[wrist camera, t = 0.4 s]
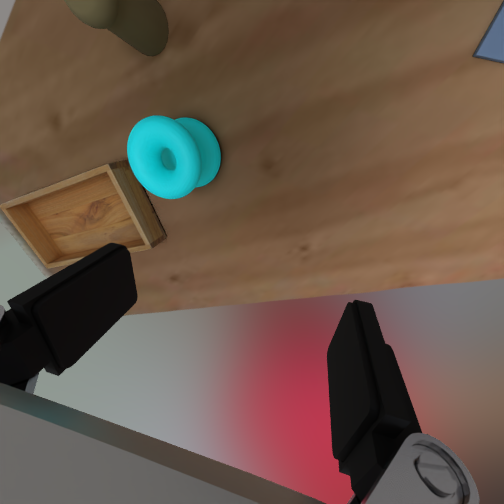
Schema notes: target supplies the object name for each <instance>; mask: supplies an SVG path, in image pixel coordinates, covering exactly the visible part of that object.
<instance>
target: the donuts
mask: <svg viewBox="0 0 504 504" xmlns="http://www.w3.org/2000/svg"><path fill="white" fill-rule="evenodd" d="M127 154H128V160H129V163H130V166H131V169H132V171H133V173H134V175H135V176H136V178H137V179H138V181H139V182H140V183H141V184H142V185H143V186H144V187H145V188H146V189H147V190H148V191H150V192H151V193H153V194H155V195H157V196H159V197H162V198H166V199H177V198H181V197H184V196H186V195H188V194H189V193H190V192H191V191H192V190H193V189H194V188H195V187H201V186H204V185H206V184H208V183H209V182H211V181H212V180H213V179H214V177H215V176H216V174H217V172H218V170H219V167H220V162H221V152H220V147H219V144H218V141H217V139H216V137H215V135H214V134H213V132H212V131H211V130H210V129H209V128H208V127H207V126H206V125H205V124H203V123H202V122H200V121H198V120H196V119H193V118H186V117H185V118H178V119H175V120H174V119H171V118H169V117H165V116H149V117H146V118H144V119H142V120H141V121H139V122H138V123H137V124H136V125H135V126H134V128H133V129H132V131H131V133H130V135H129V139H128V144H127Z"/></svg>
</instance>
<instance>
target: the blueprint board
mask: <svg viewBox="0 0 504 504" xmlns="http://www.w3.org/2000/svg"><path fill="white" fill-rule="evenodd" d="M473 57H478V58H482V59H487V60H491V61H496V62H500V63H504V1H503V3H502V5H501V6H500V8H499V10H498V12H497V14H496V15H495V17H494V19H493V21H492V23H491V24H490V26H489V28H488V30H487V31H486V33H485V35H484V37H483V39H482V40H481V42H480V44H479V46H478V47H477V49H476V51H475V53H474V55H473Z"/></svg>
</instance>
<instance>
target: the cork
mask: <svg viewBox="0 0 504 504" xmlns="http://www.w3.org/2000/svg"><path fill="white" fill-rule="evenodd" d="M64 1H65V2H66V4H67V5H68V7H69V8H70V10H71V11H72V13H73V14H74V15H75V16H76V17H77V18H78V19H80V20H81V21H82V22H83V23H85V24H87V25H89V26H91V27H93V28H98V29H106V28H107V29H108V30H109V31H111V32H112V33H114V34H115V35H117V36H118V37H120V38H121V39H122V40H124V41H125V42H127V43H128V44H130V45H131V46H133V47H134V48H135V49H137V50H138V51H140V52H141V53H143V54H145V55H147V56H155V55H157V54H159V53H160V52H161V51H162V50H163V49H164V47H165V45H166V43H167V39H168V22H167V18H166V15H165V12H164V10H163V9H162V7H161V5H160V4H159V3H158V2H157V1H156V0H64Z"/></svg>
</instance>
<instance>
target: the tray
mask: <svg viewBox="0 0 504 504" xmlns="http://www.w3.org/2000/svg"><path fill="white" fill-rule="evenodd" d="M0 208H1V209H2V210H3V211H4V213H5V214H6V215H7V217H8V218H9V219H10V221H11V222H12V223H13V225H14V226H15V227H16V229H17V230H18V231H19V232H20V234H21V235H22V236H23V238H24V239H25V240H26V242H27V243H28V244H29V245H30V247H31V248H32V249H33V251H34V252H35V253H36V255H37V256H38V257H39V259H40V260H41V261H42V262H43V264H44V265H45V266H46V268H52V267H58V266H63V265H68V264H73V263H75V262H77V261H79V260H80V259H82V258H84V257H86V256H87V255H89V254H91V253H93V252H94V251H96V250H98V249H100V248H101V247H103V246H105V245H107V244H108V243H117V244H121V245H124V246H126V247H127V250H129V252H130V253H132V252H137V251H142V250H147V249H152V248H154V247H155V246H156V245H158V244H159V243H160V242H162V241H163V240H164V239H165V238H166V235H165V233H164V231H163V228H162V226H161V224H160V222H159V220H158V218H157V216H156V214H155V212H154V210H153V208H152V206H151V204H150V202H149V200H148V198H147V195H146V193H145V191H144V189H143V187H142V185H141V183H140V182H139V181H138V179H137V178H136V176H135V175H134V173H133V171H132V169H131V166H130V163H129V160H125V161H119V162H114V163H109V164H106V165H103V166H101V167H98V168H95V169H93V170H90V171H87V172H85V173H82V174H79V175H77V176H74V177H72V178H69V179H66V180H64V181H61V182H59V183H56V184H53V185H51V186H48V187H46V188H43V189H40V190H37V191H35V192H32V193H29V194H27V195H24V196H21V197H19V198H16V199H13V200H11V201H8V202H5V203H3V204H0Z"/></svg>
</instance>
